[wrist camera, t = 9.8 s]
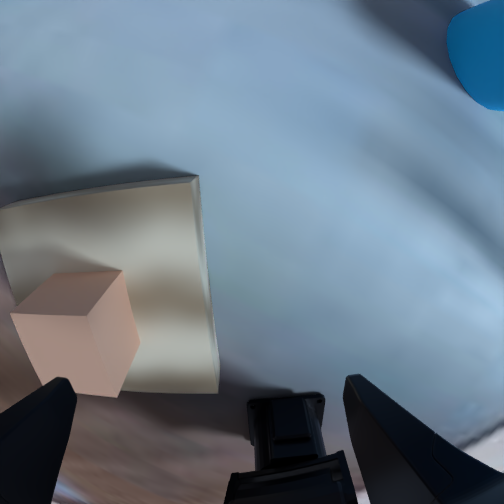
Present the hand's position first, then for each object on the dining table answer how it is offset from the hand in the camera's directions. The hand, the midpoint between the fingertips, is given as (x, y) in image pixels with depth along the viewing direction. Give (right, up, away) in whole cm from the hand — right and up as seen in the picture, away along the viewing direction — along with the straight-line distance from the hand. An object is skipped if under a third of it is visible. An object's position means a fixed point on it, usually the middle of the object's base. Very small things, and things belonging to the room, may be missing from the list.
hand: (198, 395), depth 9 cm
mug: (+21, +19, +7) cm, 29 cm away
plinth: (-8, +2, +12) cm, 15 cm away
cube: (-8, +1, +9) cm, 12 cm away
